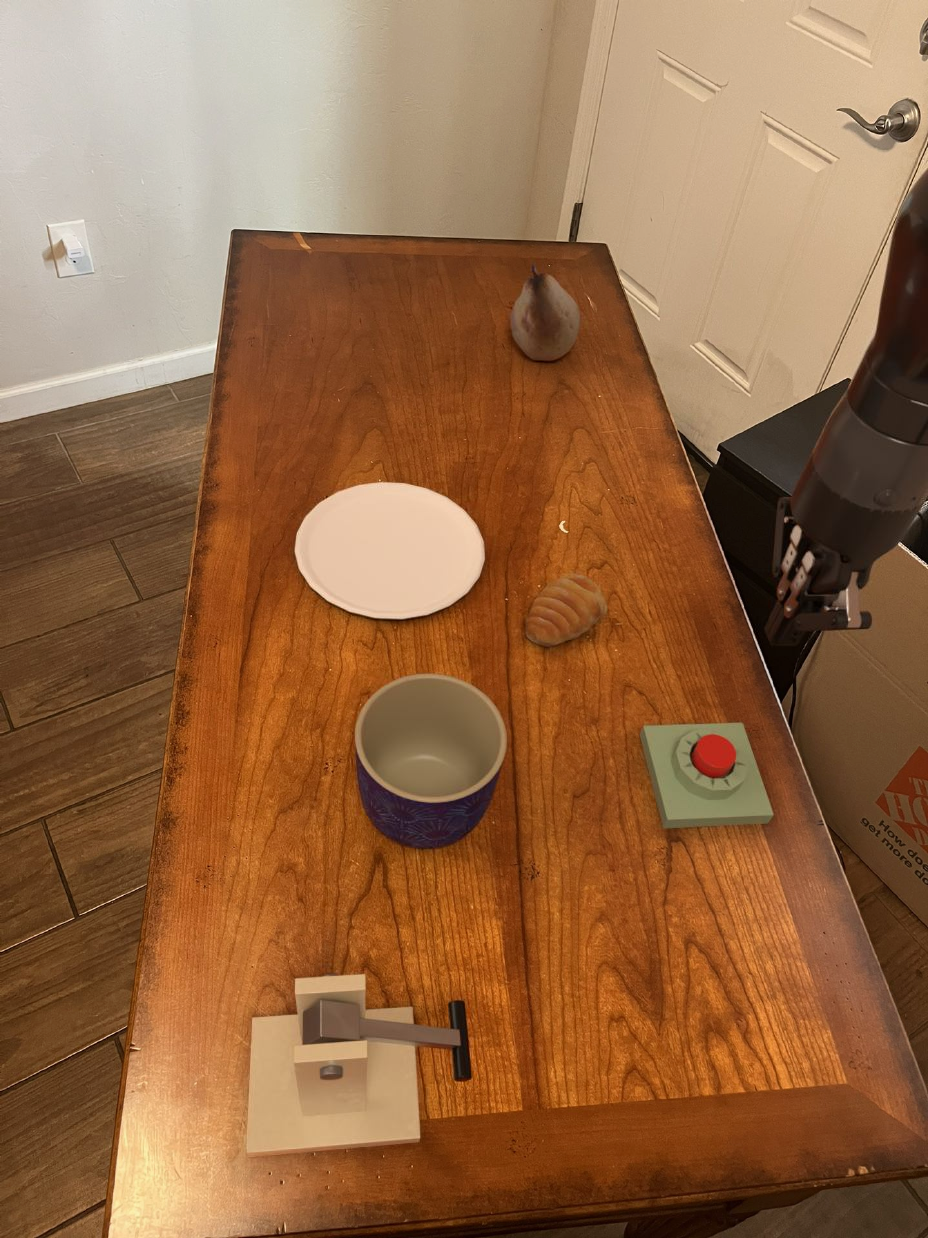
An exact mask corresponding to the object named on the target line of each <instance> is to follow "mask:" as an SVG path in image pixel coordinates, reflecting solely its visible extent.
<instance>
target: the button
mask: <svg viewBox="0 0 928 1238" xmlns="http://www.w3.org/2000/svg"><path fill="white" fill-rule="evenodd" d="M692 760H693V763H694V765H695V767H696V768H697V769H698V770H699V771H700V772H701V773H702V774H704V775H706V776H709V777H713V778H718V777H722V776H724V775H726V774H727V773H728V772H729V770H730V769H731V767H732V765H733V764H734V762H735V760H736V750H735V748H734V746H733V745H732V743H731V742H730V741H729V740H727V739H726V738H724V737H722V736H719V735H715V734H710V735H706V736H704V737H702V738H701V739H700V740H699V741H698V743H697V745H696V747H695V749H694V751H693V754H692Z"/></svg>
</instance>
